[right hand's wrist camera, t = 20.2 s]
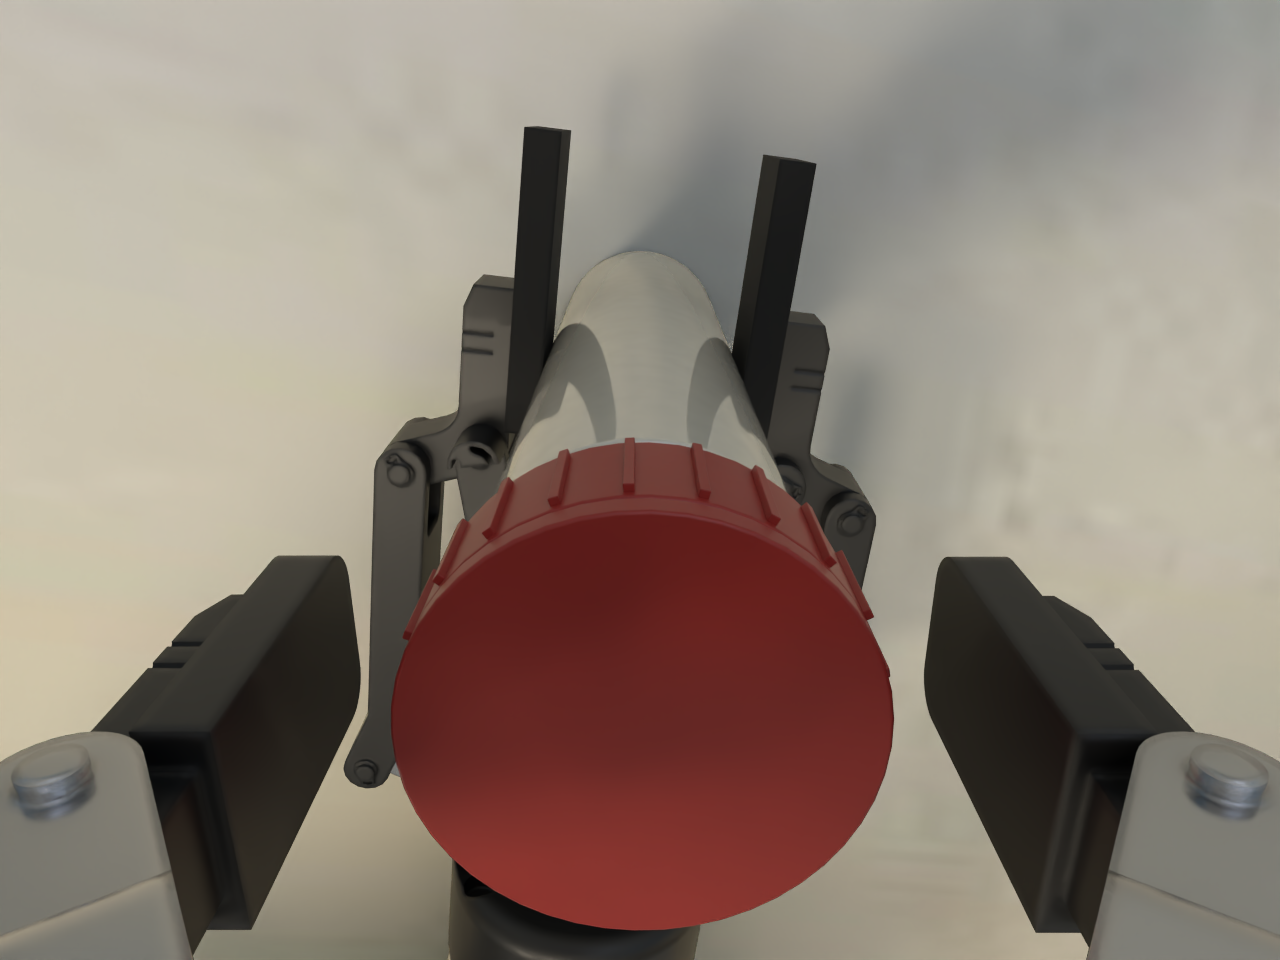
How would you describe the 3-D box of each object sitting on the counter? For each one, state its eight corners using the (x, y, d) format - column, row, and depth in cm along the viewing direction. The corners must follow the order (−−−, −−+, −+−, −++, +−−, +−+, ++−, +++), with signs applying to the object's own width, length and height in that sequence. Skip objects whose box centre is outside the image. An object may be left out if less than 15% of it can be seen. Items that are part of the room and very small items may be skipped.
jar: (666, 421, 29) (709, 899, 11) (540, 352, 28) (369, 747, 10) (741, 298, 27) (932, 617, 10) (611, 221, 27) (556, 414, 9)
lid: (696, 342, 9) (710, 393, 8) (935, 681, 11) (994, 791, 9) (335, 594, 11) (272, 691, 9) (598, 872, 12) (591, 1004, 10)
